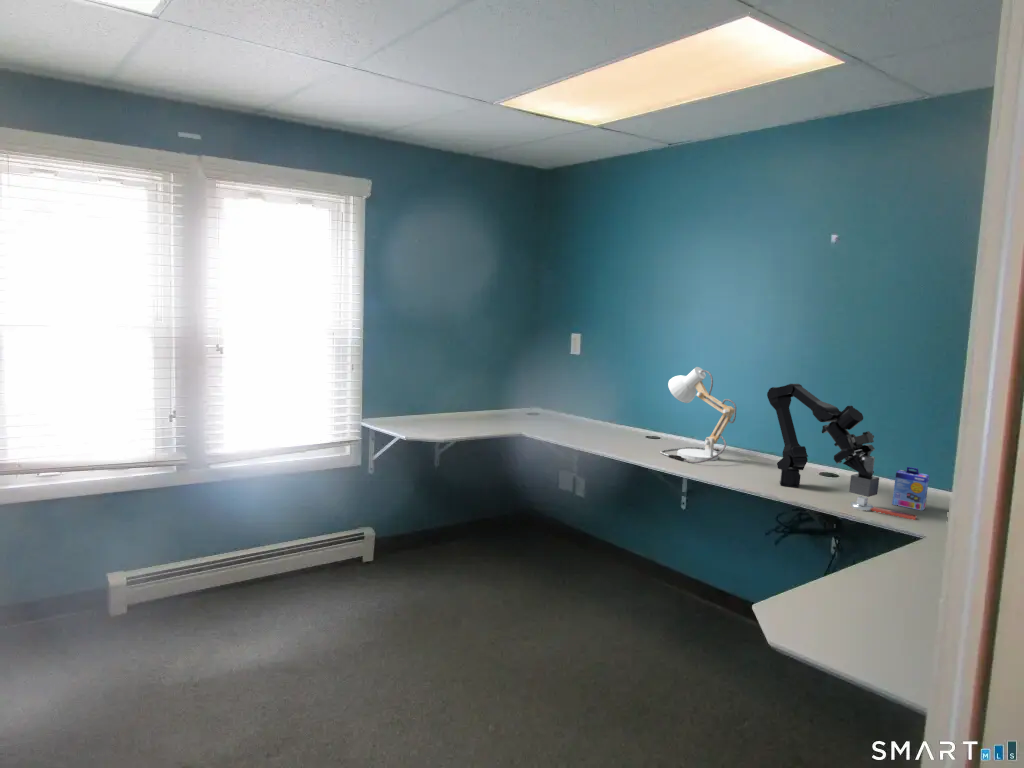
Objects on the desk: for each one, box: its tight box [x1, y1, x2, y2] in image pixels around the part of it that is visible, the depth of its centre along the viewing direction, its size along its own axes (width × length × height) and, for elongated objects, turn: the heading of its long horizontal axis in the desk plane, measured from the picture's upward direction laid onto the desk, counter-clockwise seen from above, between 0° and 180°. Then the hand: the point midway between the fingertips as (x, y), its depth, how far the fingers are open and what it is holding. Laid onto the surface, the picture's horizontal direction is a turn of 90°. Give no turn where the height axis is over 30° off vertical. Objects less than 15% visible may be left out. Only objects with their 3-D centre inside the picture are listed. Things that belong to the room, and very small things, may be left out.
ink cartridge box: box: [891, 466, 930, 511], centre depth 244 cm, size 10×6×14 cm, turn 51°
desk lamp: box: [659, 366, 737, 464], centre depth 309 cm, size 31×38×40 cm
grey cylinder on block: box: [848, 455, 880, 498], centre depth 238 cm, size 7×7×13 cm
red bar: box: [850, 495, 918, 521], centre depth 235 cm, size 20×9×4 cm, turn 38°
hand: (869, 474), depth 237 cm, fingers closed on grey cylinder on block, 4 cm apart
